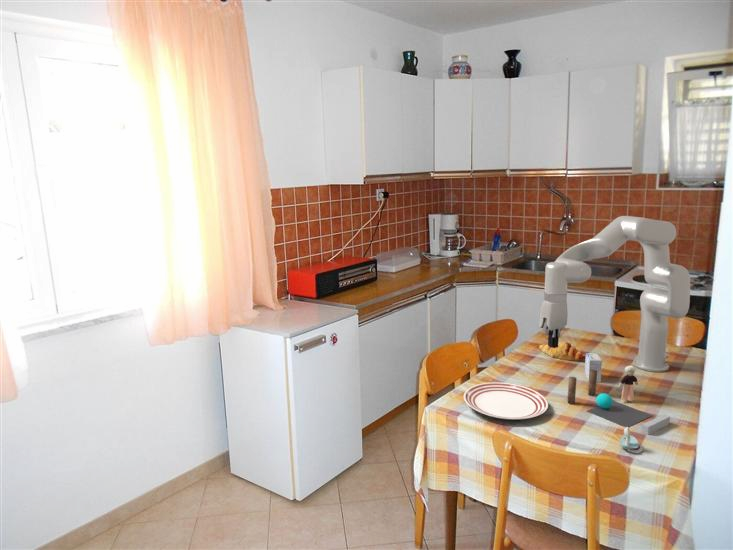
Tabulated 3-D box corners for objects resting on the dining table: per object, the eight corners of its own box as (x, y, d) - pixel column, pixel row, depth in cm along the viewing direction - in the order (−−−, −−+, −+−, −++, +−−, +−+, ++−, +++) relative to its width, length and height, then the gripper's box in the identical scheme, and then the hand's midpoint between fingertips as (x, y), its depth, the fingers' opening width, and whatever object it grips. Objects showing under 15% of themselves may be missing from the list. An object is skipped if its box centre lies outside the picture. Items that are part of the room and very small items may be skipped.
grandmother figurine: (625, 405, 183) (628, 369, 180) (615, 401, 186) (618, 365, 184) (640, 400, 186) (643, 365, 184) (630, 396, 190) (633, 361, 187)
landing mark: (612, 400, 186) (612, 400, 186) (652, 415, 175) (652, 415, 175) (586, 411, 179) (586, 410, 179) (626, 427, 168) (627, 427, 167)
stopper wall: (663, 421, 171) (663, 414, 171) (669, 423, 170) (670, 416, 169) (641, 432, 165) (642, 424, 164) (647, 434, 163) (648, 427, 163)
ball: (617, 397, 179) (613, 410, 180) (604, 389, 183) (601, 403, 185) (607, 399, 177) (603, 412, 178) (594, 391, 181) (591, 405, 182)
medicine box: (600, 382, 202) (602, 360, 200) (588, 382, 203) (589, 359, 201) (596, 374, 209) (597, 353, 208) (584, 374, 210) (585, 352, 209)
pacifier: (643, 445, 158) (620, 440, 161) (645, 425, 156) (622, 420, 159) (642, 457, 151) (618, 451, 154) (644, 436, 150) (620, 431, 153)
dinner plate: (562, 406, 183) (563, 397, 183) (520, 435, 165) (520, 425, 164) (492, 384, 203) (492, 375, 202) (447, 407, 184) (447, 398, 183)
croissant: (535, 359, 236) (531, 346, 232) (546, 344, 241) (542, 330, 237) (583, 371, 221) (579, 357, 217) (593, 354, 226) (590, 340, 222)
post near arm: (590, 392, 193) (592, 368, 191) (596, 395, 191) (598, 370, 189) (586, 394, 192) (588, 370, 190) (592, 396, 190) (594, 372, 188)
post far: (570, 400, 187) (571, 376, 185) (576, 403, 185) (578, 378, 183) (565, 402, 186) (567, 377, 184) (571, 404, 184) (573, 379, 182)
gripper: (560, 292, 199) (557, 340, 203) (532, 298, 192) (530, 348, 195) (577, 296, 193) (575, 345, 197) (550, 302, 185) (547, 354, 189)
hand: (552, 346), depth 196 cm, fingers closed
